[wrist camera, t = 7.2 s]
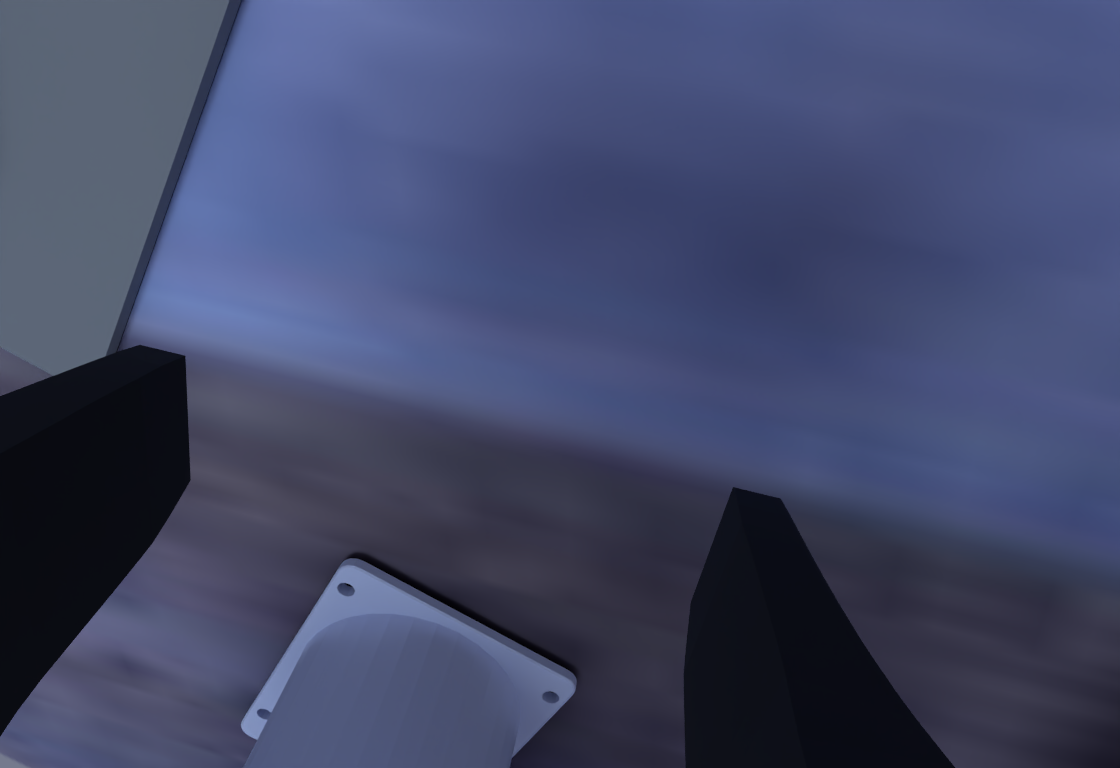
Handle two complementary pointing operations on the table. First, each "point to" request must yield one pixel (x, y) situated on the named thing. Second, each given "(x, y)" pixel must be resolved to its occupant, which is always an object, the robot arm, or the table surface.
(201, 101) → the mat
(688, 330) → the table surface
